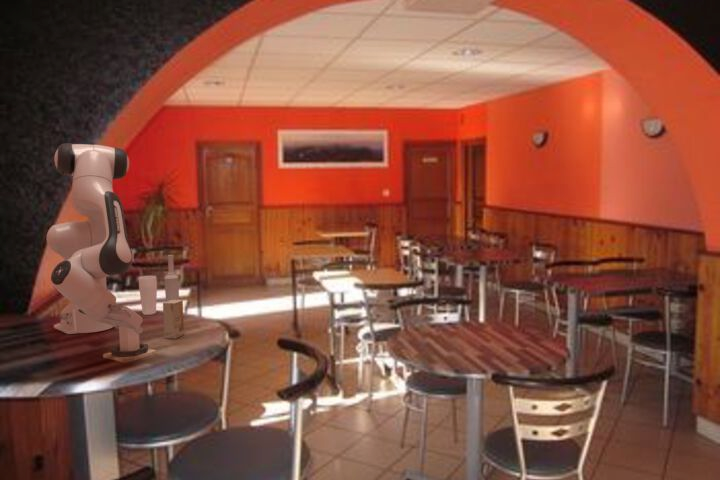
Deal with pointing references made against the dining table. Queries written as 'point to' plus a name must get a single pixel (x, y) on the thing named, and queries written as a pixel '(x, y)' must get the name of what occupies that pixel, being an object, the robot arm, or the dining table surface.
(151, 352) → the board
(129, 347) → the carton
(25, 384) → the dining table surface
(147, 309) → the drinking glass
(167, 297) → the bottle
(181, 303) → the skincare box
